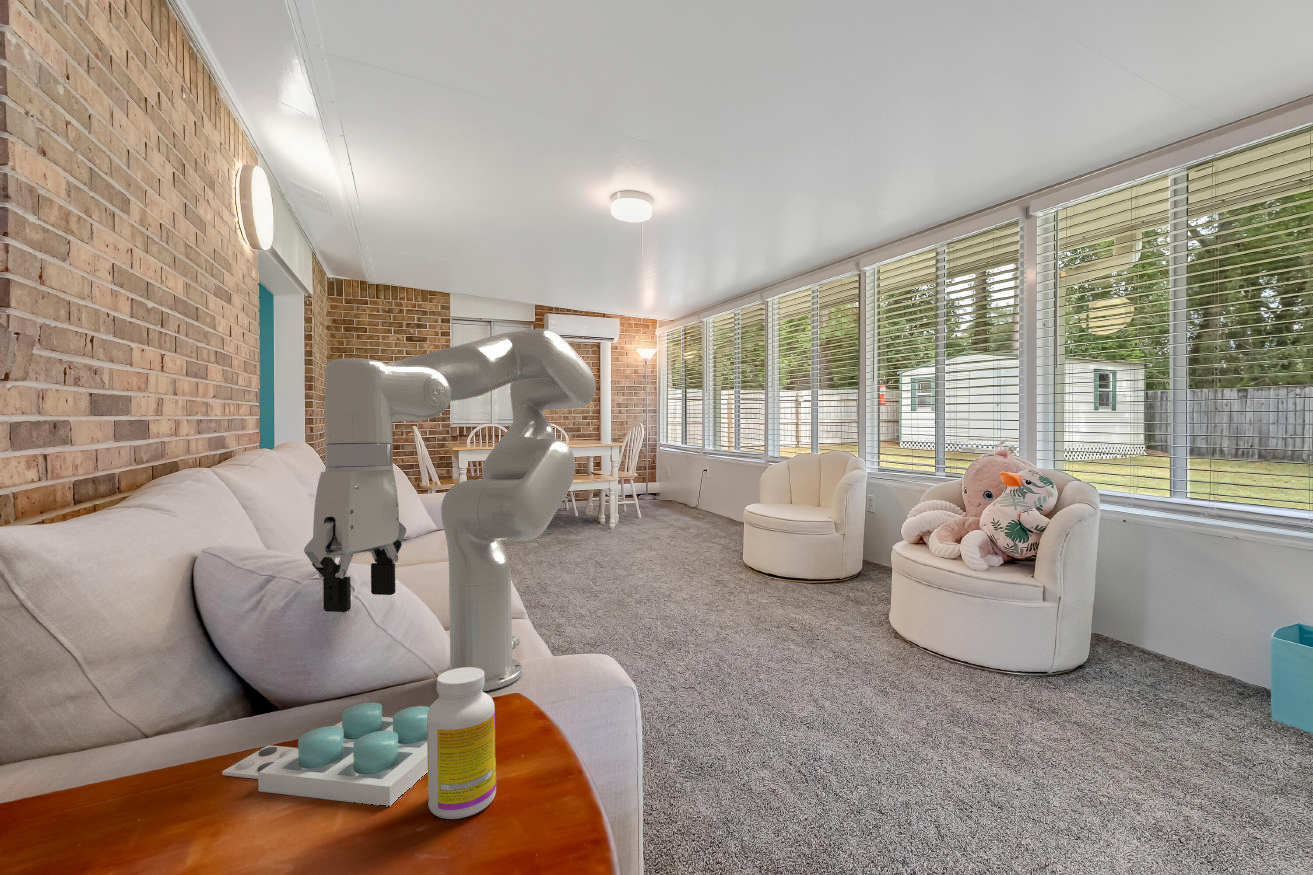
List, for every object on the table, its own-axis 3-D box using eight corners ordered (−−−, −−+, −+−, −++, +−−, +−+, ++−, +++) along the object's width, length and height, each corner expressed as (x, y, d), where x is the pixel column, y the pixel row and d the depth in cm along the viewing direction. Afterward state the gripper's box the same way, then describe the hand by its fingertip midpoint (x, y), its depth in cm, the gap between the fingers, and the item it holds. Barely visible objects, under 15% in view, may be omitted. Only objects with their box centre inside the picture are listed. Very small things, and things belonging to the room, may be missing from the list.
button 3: (372, 751, 66) (372, 729, 66) (406, 754, 65) (406, 732, 65) (344, 772, 62) (343, 748, 62) (380, 776, 61) (380, 751, 61)
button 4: (408, 725, 72) (408, 704, 73) (440, 727, 72) (439, 707, 72) (384, 742, 68) (384, 720, 68) (418, 745, 67) (417, 723, 67)
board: (352, 729, 76) (352, 714, 76) (463, 739, 72) (463, 723, 73) (258, 791, 62) (258, 772, 62) (390, 806, 59) (389, 786, 59)
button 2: (359, 720, 74) (359, 701, 74) (389, 723, 73) (389, 703, 73) (333, 737, 70) (333, 716, 70) (365, 740, 69) (365, 719, 69)
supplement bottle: (509, 799, 60) (507, 673, 60) (448, 831, 55) (446, 693, 55) (475, 776, 64) (473, 658, 64) (416, 803, 59) (414, 676, 60)
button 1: (319, 746, 68) (319, 724, 68) (352, 749, 67) (352, 727, 67) (288, 766, 63) (288, 743, 63) (323, 769, 62) (322, 746, 62)
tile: (268, 748, 71) (268, 743, 71) (309, 752, 70) (309, 747, 70) (222, 774, 66) (222, 769, 66) (266, 779, 64) (266, 774, 64)
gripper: (380, 458, 81) (382, 585, 81) (275, 461, 64) (276, 621, 64) (428, 457, 80) (430, 586, 79) (333, 459, 63) (334, 624, 62)
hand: (361, 601), depth 72 cm, fingers open, 7 cm apart
